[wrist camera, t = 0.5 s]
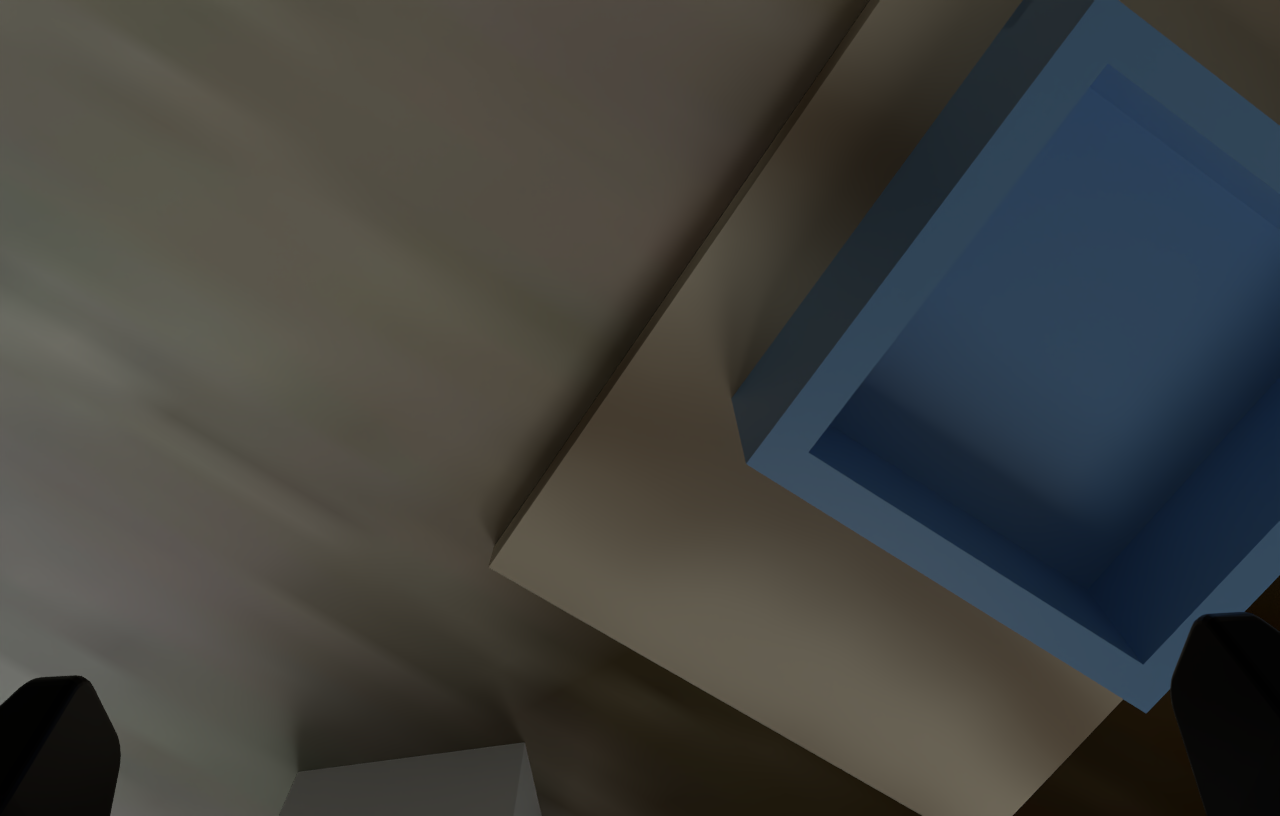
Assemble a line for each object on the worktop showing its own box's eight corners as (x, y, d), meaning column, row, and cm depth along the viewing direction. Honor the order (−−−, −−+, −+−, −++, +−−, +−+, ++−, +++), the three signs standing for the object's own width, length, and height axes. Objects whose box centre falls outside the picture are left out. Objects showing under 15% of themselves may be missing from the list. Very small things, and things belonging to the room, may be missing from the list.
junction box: (1080, 620, 25) (1146, 713, 22) (730, 398, 24) (745, 464, 20) (1398, 271, 23) (1526, 318, 19) (1030, -11, 21) (1103, -12, 18)
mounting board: (969, 820, 28) (980, 848, 28) (494, 546, 26) (488, 567, 25) (1679, 62, 22) (1725, 65, 21) (1146, -404, 20) (1171, -423, 19)
